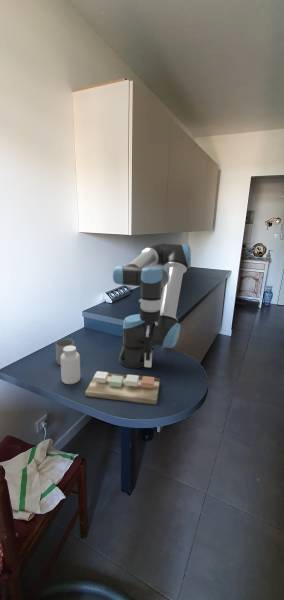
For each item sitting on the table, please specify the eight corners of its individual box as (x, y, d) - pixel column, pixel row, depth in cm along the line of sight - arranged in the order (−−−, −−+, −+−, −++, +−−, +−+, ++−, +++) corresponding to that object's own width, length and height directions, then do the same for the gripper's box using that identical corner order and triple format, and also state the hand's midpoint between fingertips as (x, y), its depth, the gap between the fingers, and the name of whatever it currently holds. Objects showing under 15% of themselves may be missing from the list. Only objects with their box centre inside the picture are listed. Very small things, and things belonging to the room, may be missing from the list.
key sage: (112, 379, 115) (112, 375, 115) (123, 380, 115) (123, 376, 114) (109, 385, 111) (109, 381, 110) (120, 387, 110) (120, 382, 110)
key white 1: (97, 375, 116) (97, 371, 115) (108, 376, 115) (108, 372, 115) (93, 381, 111) (93, 377, 111) (105, 382, 111) (104, 378, 110)
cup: (61, 367, 129) (60, 347, 126) (53, 360, 135) (52, 341, 132) (77, 361, 134) (76, 342, 132) (69, 355, 140) (68, 337, 138)
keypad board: (96, 377, 122) (96, 371, 121) (159, 383, 118) (159, 378, 117) (85, 396, 108) (85, 390, 108) (156, 404, 105) (156, 398, 104)
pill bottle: (63, 386, 114) (61, 353, 110) (60, 376, 121) (58, 345, 117) (82, 382, 117) (81, 350, 113) (78, 373, 124) (77, 342, 120)
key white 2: (127, 378, 114) (127, 374, 114) (138, 379, 114) (138, 375, 113) (124, 385, 110) (125, 380, 109) (136, 386, 109) (136, 382, 108)
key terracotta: (142, 380, 113) (142, 376, 113) (154, 381, 113) (154, 377, 112) (141, 386, 109) (141, 382, 108) (153, 388, 108) (153, 383, 108)
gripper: (142, 303, 109) (141, 357, 115) (137, 313, 96) (135, 373, 103) (161, 305, 108) (158, 359, 114) (158, 315, 95) (155, 375, 102)
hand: (147, 366), depth 108 cm, fingers closed
